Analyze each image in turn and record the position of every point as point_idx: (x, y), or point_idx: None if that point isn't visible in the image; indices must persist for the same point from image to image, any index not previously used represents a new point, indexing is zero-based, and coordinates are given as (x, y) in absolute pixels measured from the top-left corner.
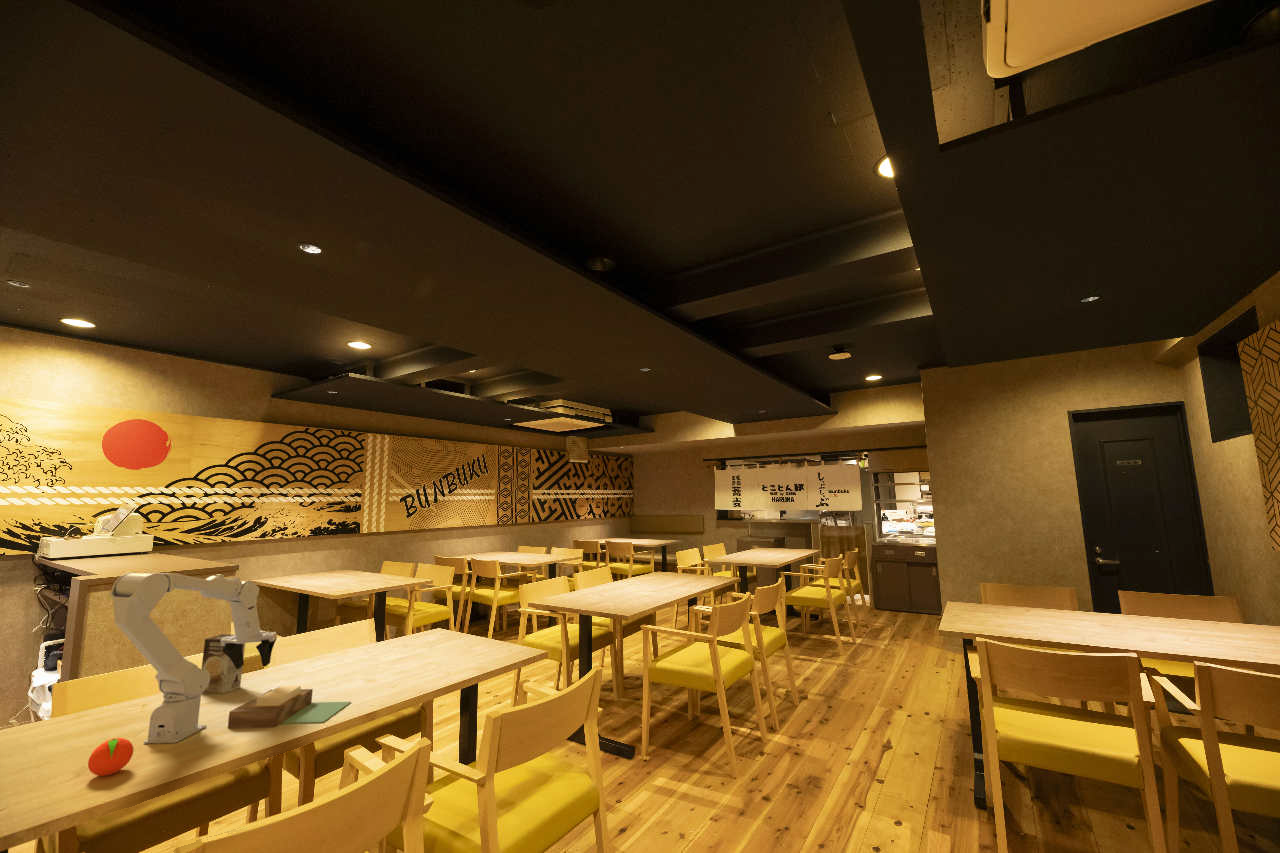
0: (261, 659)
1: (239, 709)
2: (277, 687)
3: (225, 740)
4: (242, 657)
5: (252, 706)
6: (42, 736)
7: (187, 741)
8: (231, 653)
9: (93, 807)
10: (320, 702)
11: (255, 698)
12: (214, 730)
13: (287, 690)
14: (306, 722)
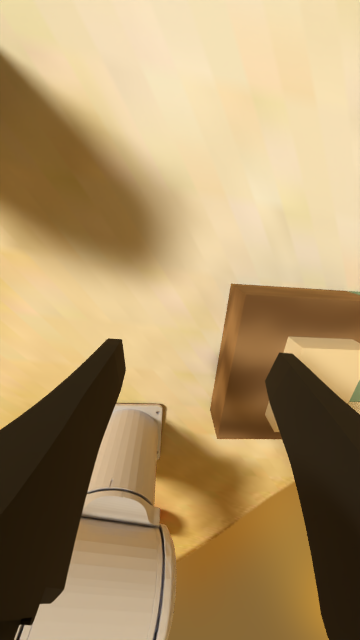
0: (283, 437)
1: (233, 429)
2: (299, 357)
3: (237, 449)
4: (100, 376)
5: (255, 416)
6: None
7: (173, 449)
8: (74, 526)
9: (192, 551)
10: None
11: (234, 367)
12: (190, 416)
13: (340, 386)
14: (357, 400)
